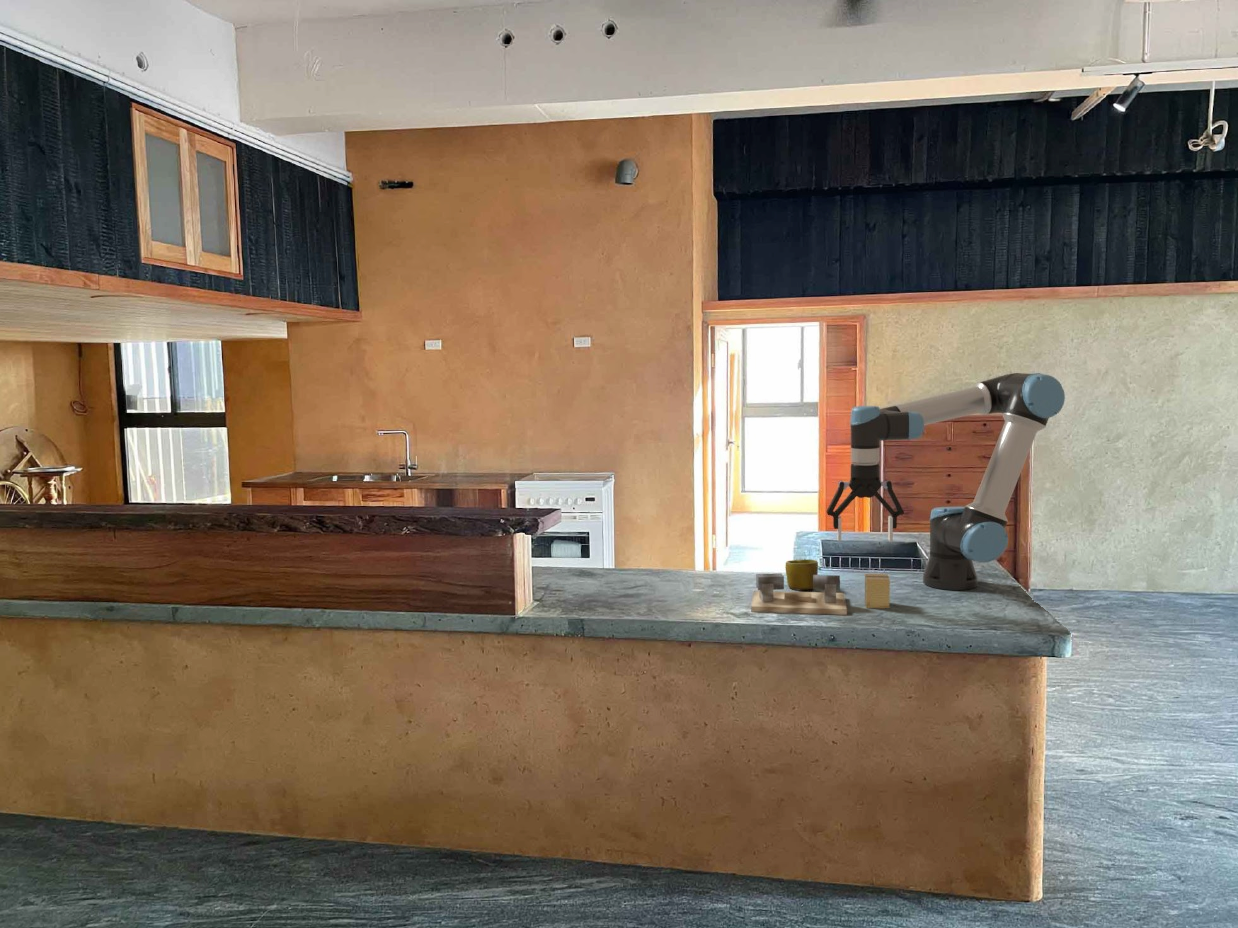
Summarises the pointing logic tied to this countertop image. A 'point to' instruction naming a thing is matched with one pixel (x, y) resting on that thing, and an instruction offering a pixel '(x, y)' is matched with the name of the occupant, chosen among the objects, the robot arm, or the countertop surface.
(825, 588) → the shaft rig
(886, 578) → the tan cardboard block
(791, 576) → the mug
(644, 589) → the countertop surface
